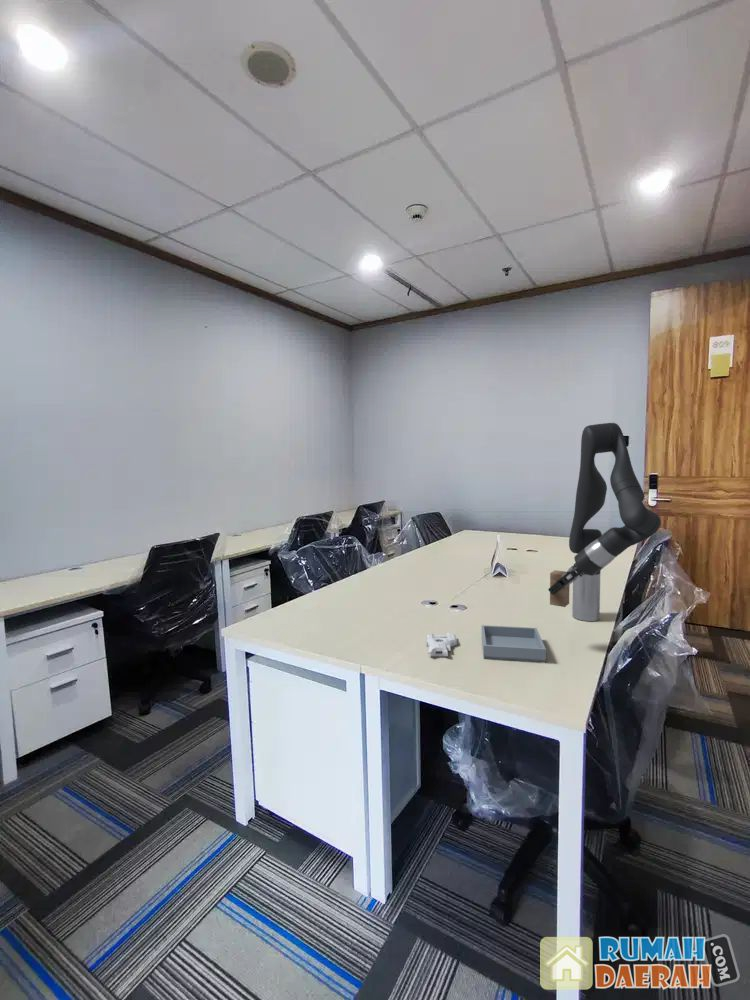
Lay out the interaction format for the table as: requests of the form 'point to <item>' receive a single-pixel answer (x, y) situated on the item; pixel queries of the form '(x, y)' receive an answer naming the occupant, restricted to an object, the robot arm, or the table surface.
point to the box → (512, 644)
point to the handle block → (563, 594)
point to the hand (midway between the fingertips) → (553, 590)
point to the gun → (440, 644)
